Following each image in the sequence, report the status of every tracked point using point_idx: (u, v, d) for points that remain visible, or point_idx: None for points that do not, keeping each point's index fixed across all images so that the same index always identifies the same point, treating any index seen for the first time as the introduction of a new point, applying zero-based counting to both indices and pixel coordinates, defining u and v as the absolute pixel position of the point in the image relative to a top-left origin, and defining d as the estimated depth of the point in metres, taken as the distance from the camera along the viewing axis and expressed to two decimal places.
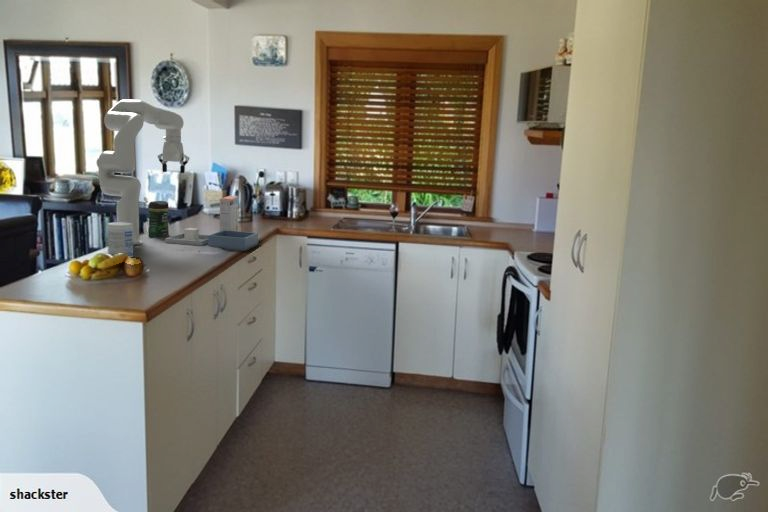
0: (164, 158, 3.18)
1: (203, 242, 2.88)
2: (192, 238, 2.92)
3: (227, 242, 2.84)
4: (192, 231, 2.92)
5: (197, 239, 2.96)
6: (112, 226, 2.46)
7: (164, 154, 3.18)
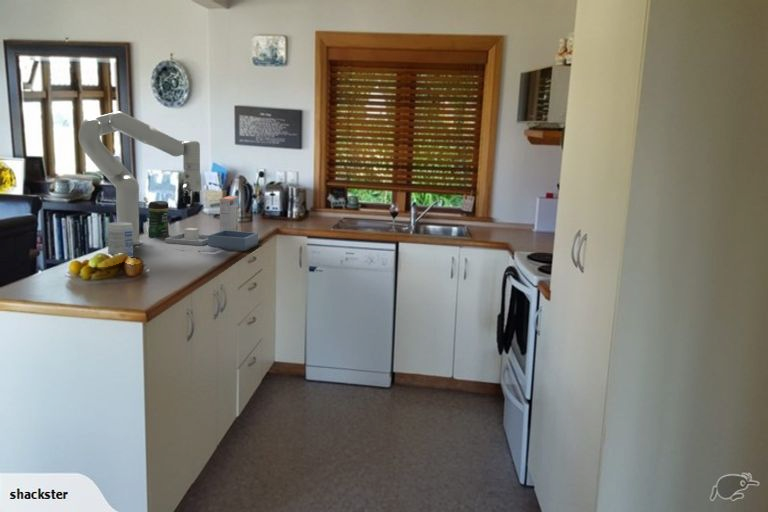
0: (194, 189, 2.87)
1: (203, 242, 2.88)
2: (192, 238, 2.92)
3: (227, 242, 2.84)
4: (192, 231, 2.92)
5: (197, 239, 2.96)
6: (112, 226, 2.46)
7: (193, 184, 2.86)
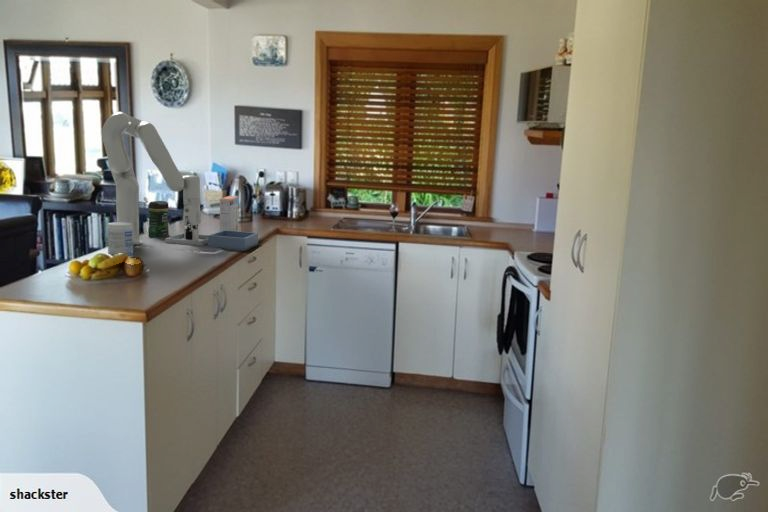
0: (193, 223, 2.90)
1: (203, 242, 2.88)
2: (192, 238, 2.92)
3: (227, 242, 2.84)
4: (192, 231, 2.92)
5: (197, 239, 2.96)
6: (112, 226, 2.46)
7: (193, 218, 2.89)
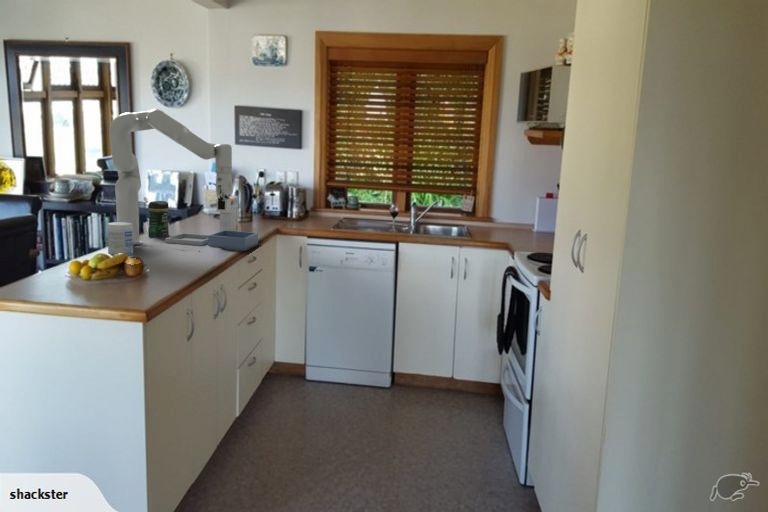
0: (226, 192, 2.86)
1: (203, 242, 2.88)
2: (225, 208, 2.88)
3: (227, 242, 2.84)
4: (225, 201, 2.88)
5: (229, 209, 2.92)
6: (112, 226, 2.46)
7: (226, 188, 2.85)
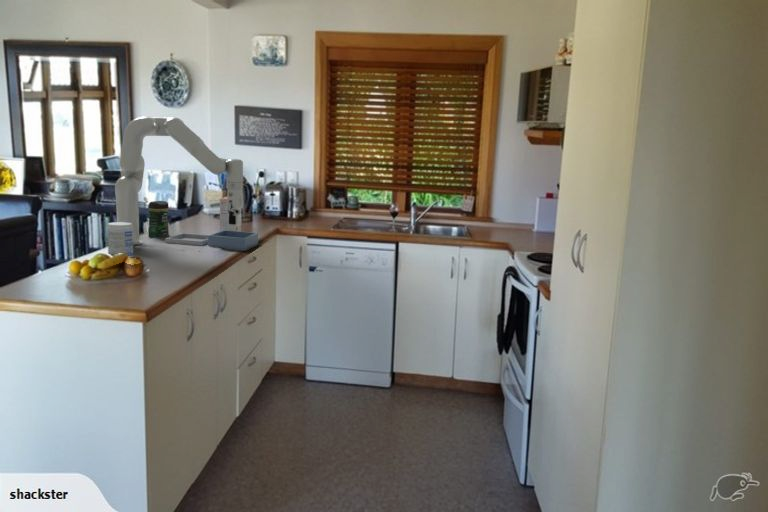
0: (237, 207, 2.86)
1: (203, 242, 2.88)
2: None
3: (227, 242, 2.84)
4: (235, 215, 2.88)
5: (240, 224, 2.93)
6: (112, 226, 2.46)
7: (237, 203, 2.86)
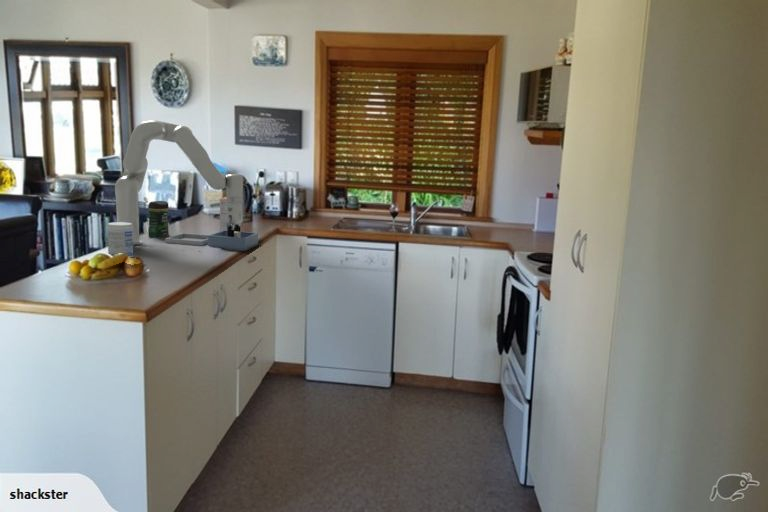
0: (236, 222, 2.88)
1: (203, 242, 2.88)
2: None
3: (227, 242, 2.84)
4: (235, 234, 2.90)
5: None
6: (112, 226, 2.46)
7: (236, 217, 2.87)
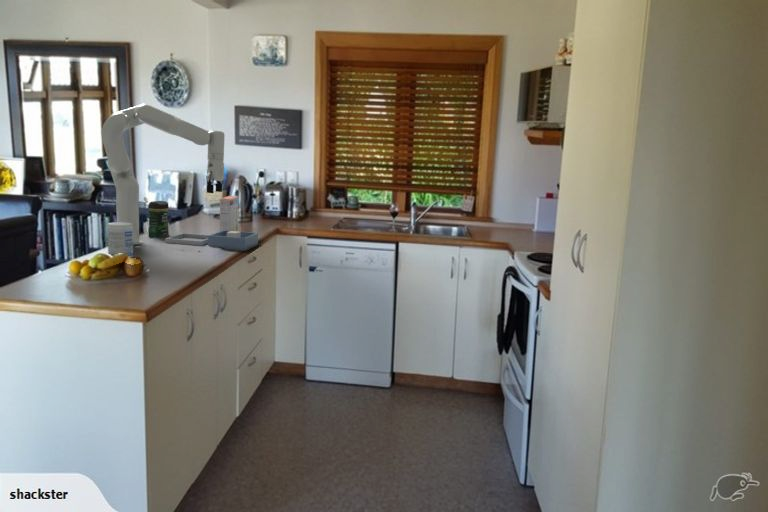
0: (217, 178, 2.91)
1: (203, 242, 2.88)
2: None
3: (227, 242, 2.84)
4: (235, 234, 2.90)
5: None
6: (112, 226, 2.46)
7: (217, 173, 2.91)
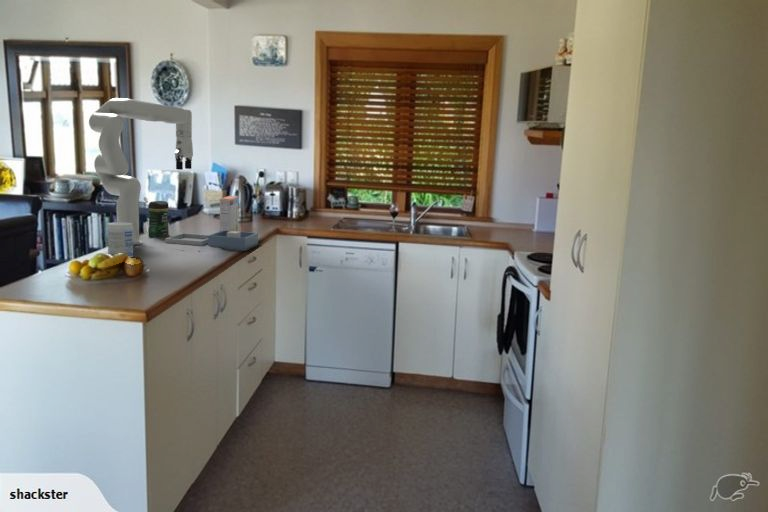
0: (185, 155, 3.02)
1: (203, 242, 2.88)
2: None
3: (227, 242, 2.84)
4: (235, 234, 2.90)
5: None
6: (112, 226, 2.46)
7: (185, 150, 3.01)
